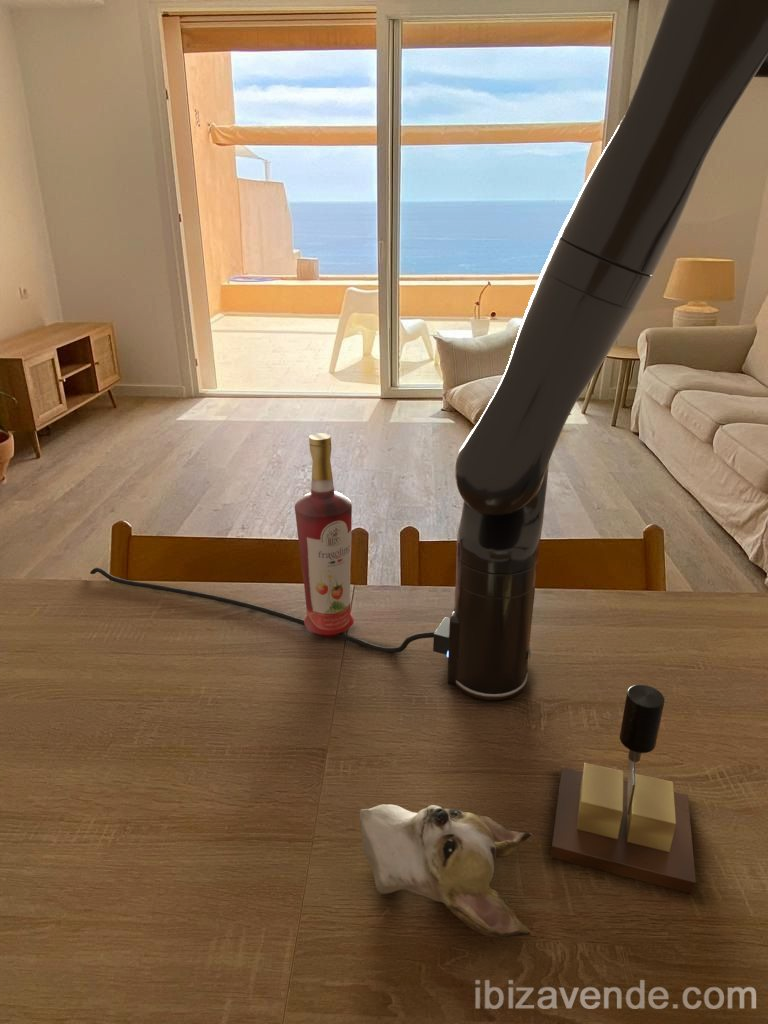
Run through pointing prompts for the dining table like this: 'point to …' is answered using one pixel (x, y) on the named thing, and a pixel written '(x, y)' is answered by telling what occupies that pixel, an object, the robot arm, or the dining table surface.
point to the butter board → (624, 827)
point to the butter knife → (640, 727)
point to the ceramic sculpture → (443, 861)
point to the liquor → (325, 546)
